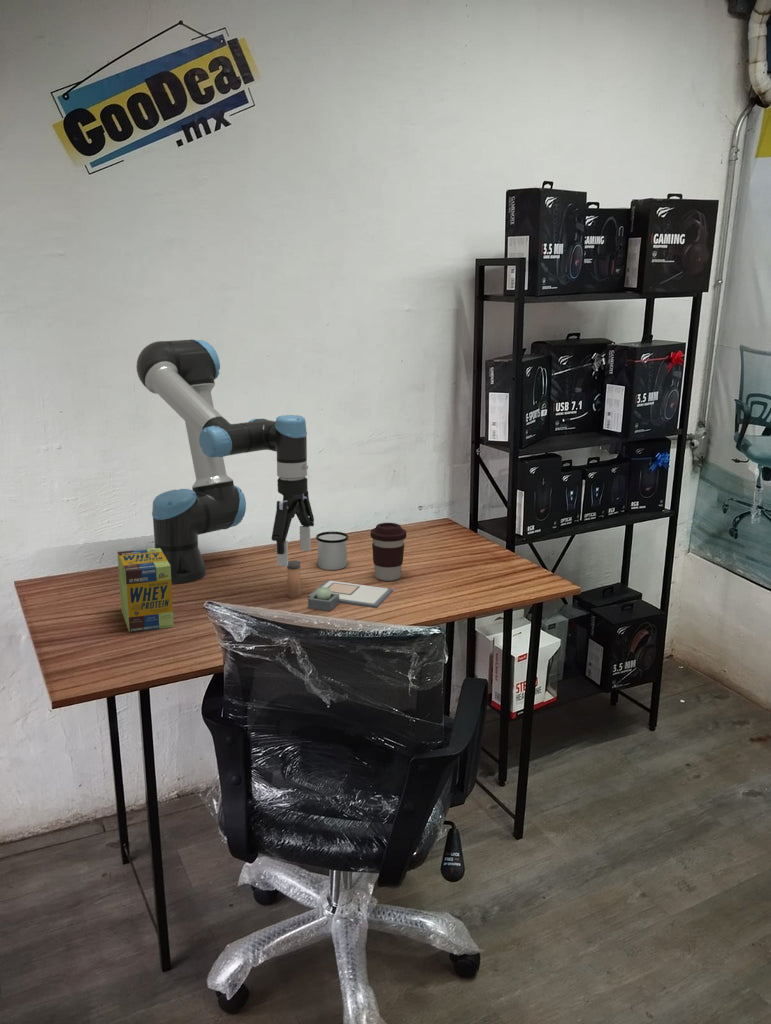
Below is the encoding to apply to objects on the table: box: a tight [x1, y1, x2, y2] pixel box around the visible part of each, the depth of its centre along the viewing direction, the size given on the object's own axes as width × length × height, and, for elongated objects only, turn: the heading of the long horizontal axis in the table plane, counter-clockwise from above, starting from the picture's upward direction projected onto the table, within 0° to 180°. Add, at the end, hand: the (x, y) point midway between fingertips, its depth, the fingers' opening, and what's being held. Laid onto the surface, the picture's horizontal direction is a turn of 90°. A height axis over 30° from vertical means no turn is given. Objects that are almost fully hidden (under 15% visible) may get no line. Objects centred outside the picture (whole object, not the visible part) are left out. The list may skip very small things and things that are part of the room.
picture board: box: [307, 579, 394, 609], centre depth 223 cm, size 19×13×1 cm
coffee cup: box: [369, 522, 407, 582], centre depth 235 cm, size 10×10×15 cm
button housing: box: [307, 592, 340, 612], centre depth 215 cm, size 6×6×2 cm
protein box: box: [116, 547, 175, 634], centre depth 203 cm, size 10×15×16 cm
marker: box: [286, 560, 301, 599], centre depth 220 cm, size 3×3×9 cm
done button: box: [316, 587, 331, 600], centre depth 215 cm, size 4×4×3 cm
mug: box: [315, 531, 350, 571], centre depth 246 cm, size 12×10×9 cm
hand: (294, 557), depth 219 cm, fingers open, 13 cm apart
